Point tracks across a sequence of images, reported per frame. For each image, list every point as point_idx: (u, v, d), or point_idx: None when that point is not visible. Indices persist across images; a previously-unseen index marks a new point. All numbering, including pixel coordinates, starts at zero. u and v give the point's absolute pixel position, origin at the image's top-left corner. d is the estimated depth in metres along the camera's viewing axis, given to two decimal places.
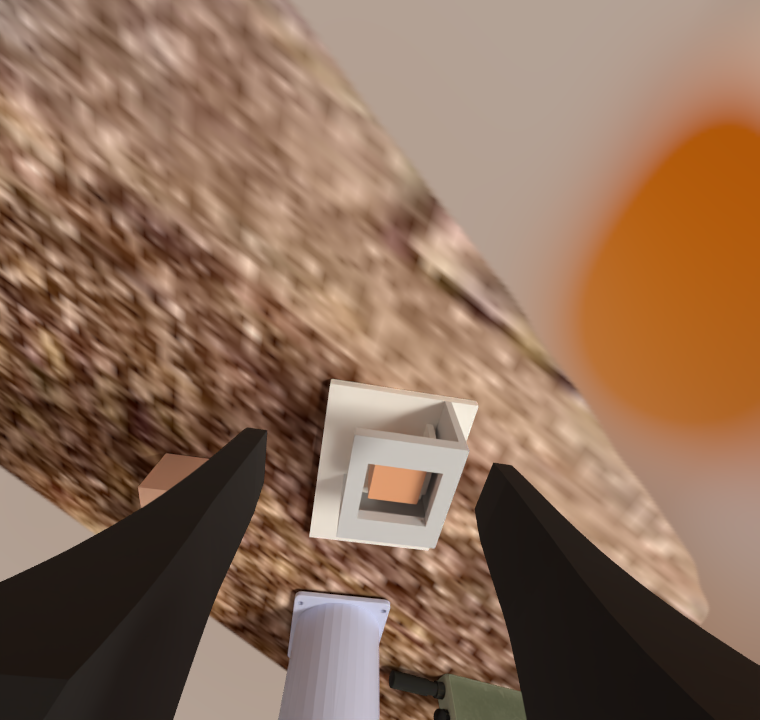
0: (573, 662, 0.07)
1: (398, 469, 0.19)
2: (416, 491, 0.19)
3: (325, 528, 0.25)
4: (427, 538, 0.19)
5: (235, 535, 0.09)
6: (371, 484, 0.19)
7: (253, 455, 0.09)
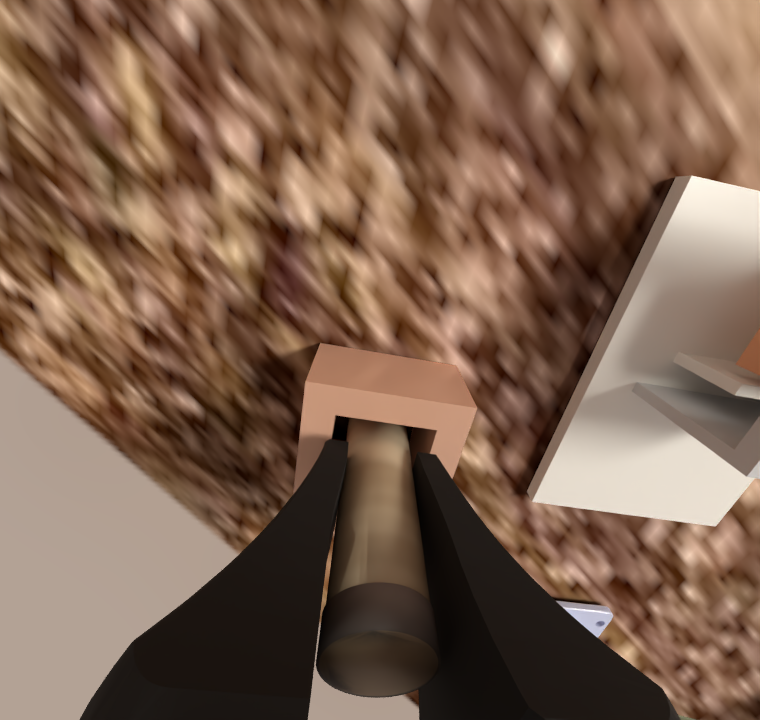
0: (449, 650, 0.07)
1: None
2: None
3: (564, 486, 0.15)
4: None
5: (328, 546, 0.09)
6: None
7: None
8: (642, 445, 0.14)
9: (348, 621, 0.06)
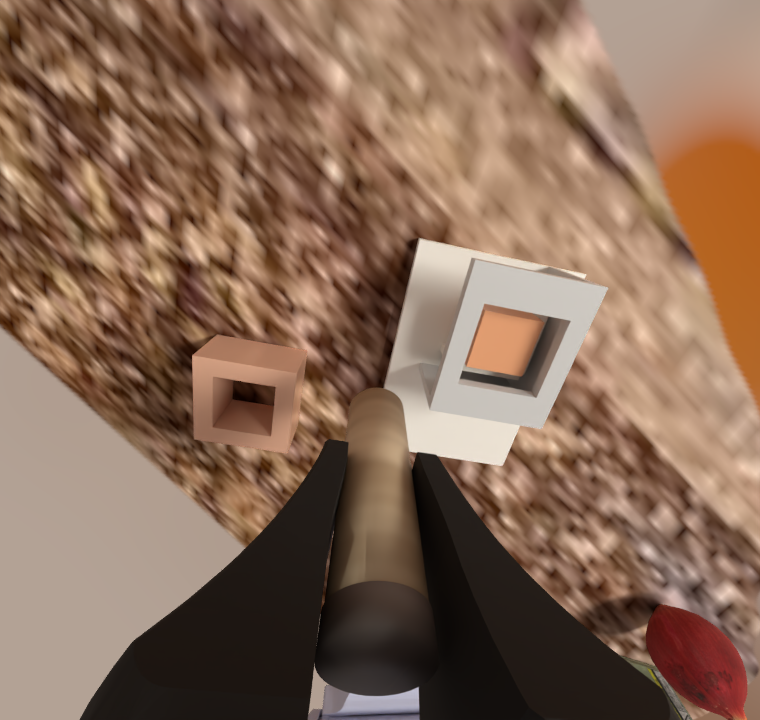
0: (450, 651, 0.06)
1: (508, 326, 0.16)
2: (524, 358, 0.17)
3: None
4: (535, 414, 0.17)
5: (329, 546, 0.09)
6: (473, 347, 0.16)
7: None
8: None
9: (346, 619, 0.06)
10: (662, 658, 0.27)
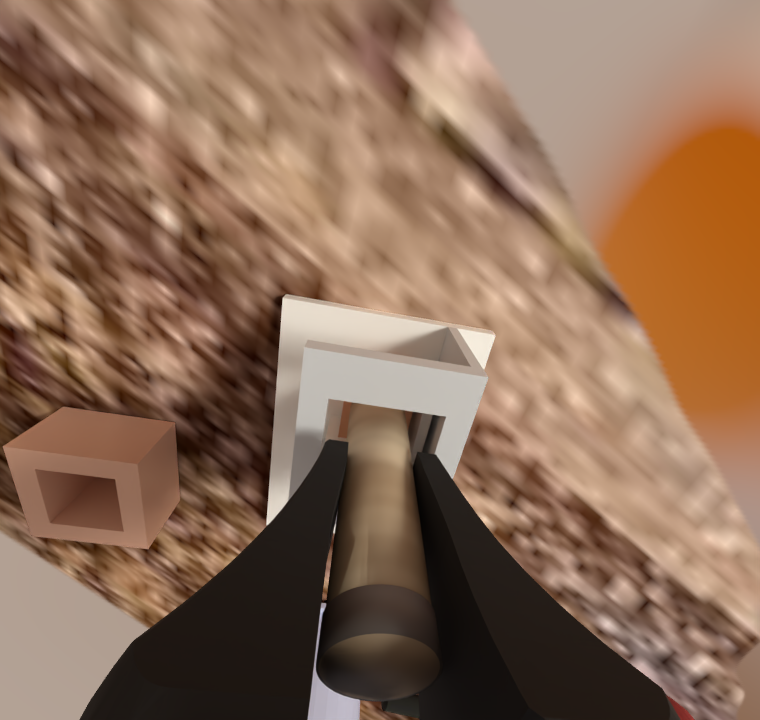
0: (449, 651, 0.06)
1: None
2: None
3: None
4: None
5: (328, 546, 0.09)
6: (342, 416, 0.14)
7: None
8: None
9: (348, 624, 0.06)
10: None
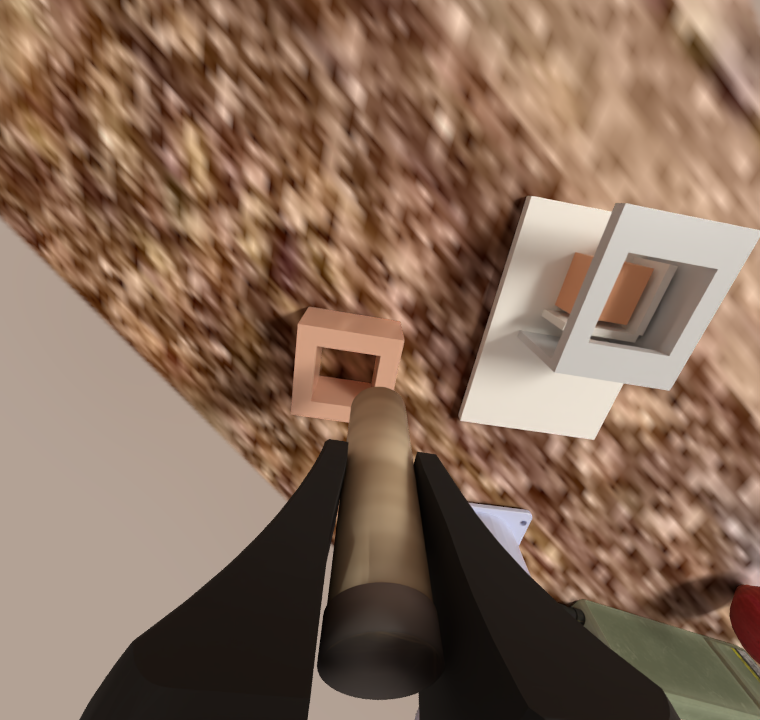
0: (450, 651, 0.06)
1: (619, 273, 0.16)
2: (631, 306, 0.17)
3: (481, 408, 0.22)
4: (665, 374, 0.16)
5: (328, 546, 0.09)
6: None
7: None
8: (531, 376, 0.21)
9: (350, 622, 0.06)
10: (754, 638, 0.26)
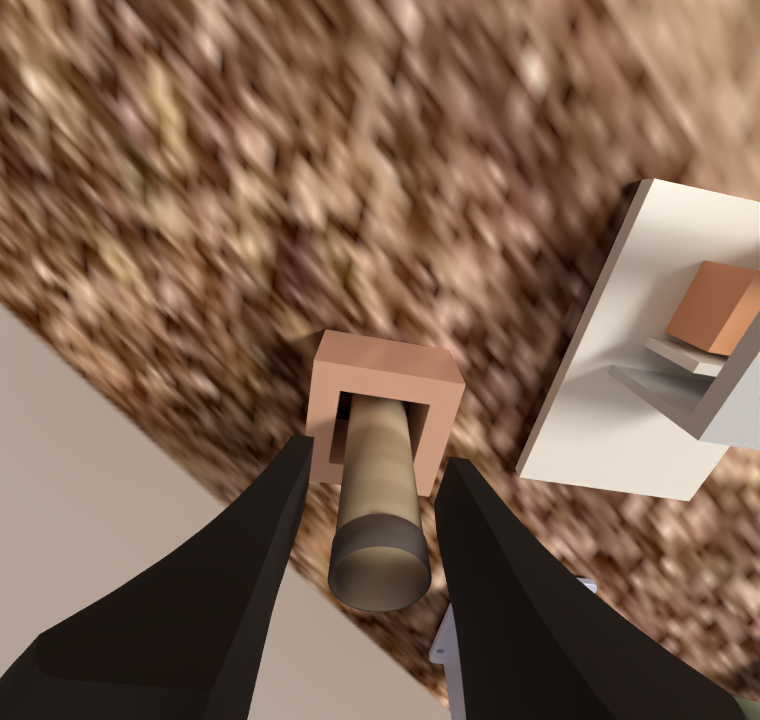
0: (503, 655, 0.07)
1: None
2: None
3: (548, 463, 0.17)
4: None
5: (289, 542, 0.09)
6: (724, 324, 0.12)
7: (307, 462, 0.09)
8: (619, 424, 0.16)
9: (354, 541, 0.08)
10: None
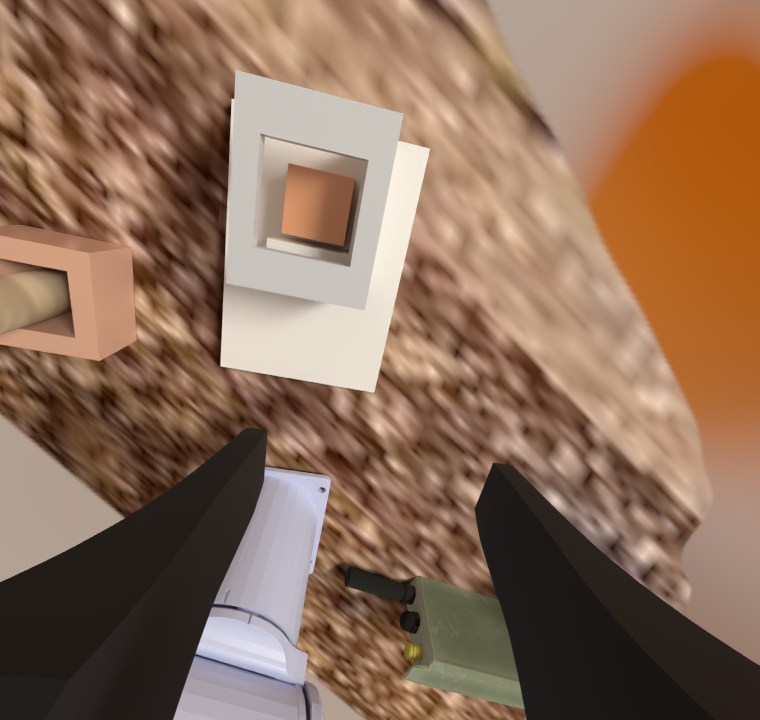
0: (573, 662, 0.07)
1: (317, 183, 0.15)
2: (342, 223, 0.16)
3: (240, 352, 0.20)
4: (353, 290, 0.14)
5: (235, 535, 0.09)
6: (284, 209, 0.15)
7: (253, 455, 0.09)
8: (286, 315, 0.19)
9: None
10: None
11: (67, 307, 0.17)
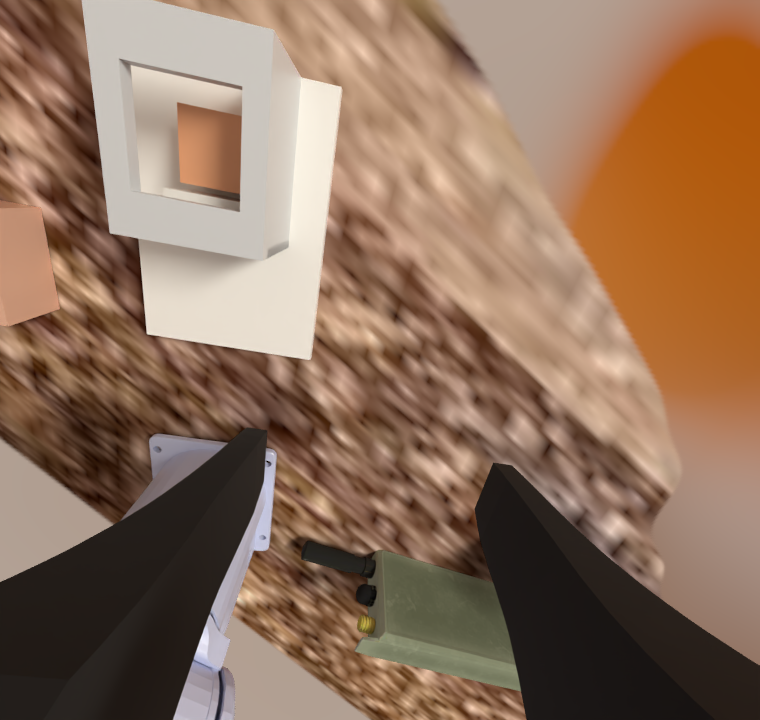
0: (573, 662, 0.07)
1: (211, 124, 0.14)
2: None
3: (165, 319, 0.19)
4: (247, 238, 0.13)
5: (234, 535, 0.09)
6: (180, 155, 0.14)
7: (253, 455, 0.09)
8: (208, 278, 0.18)
9: None
10: None
11: None
